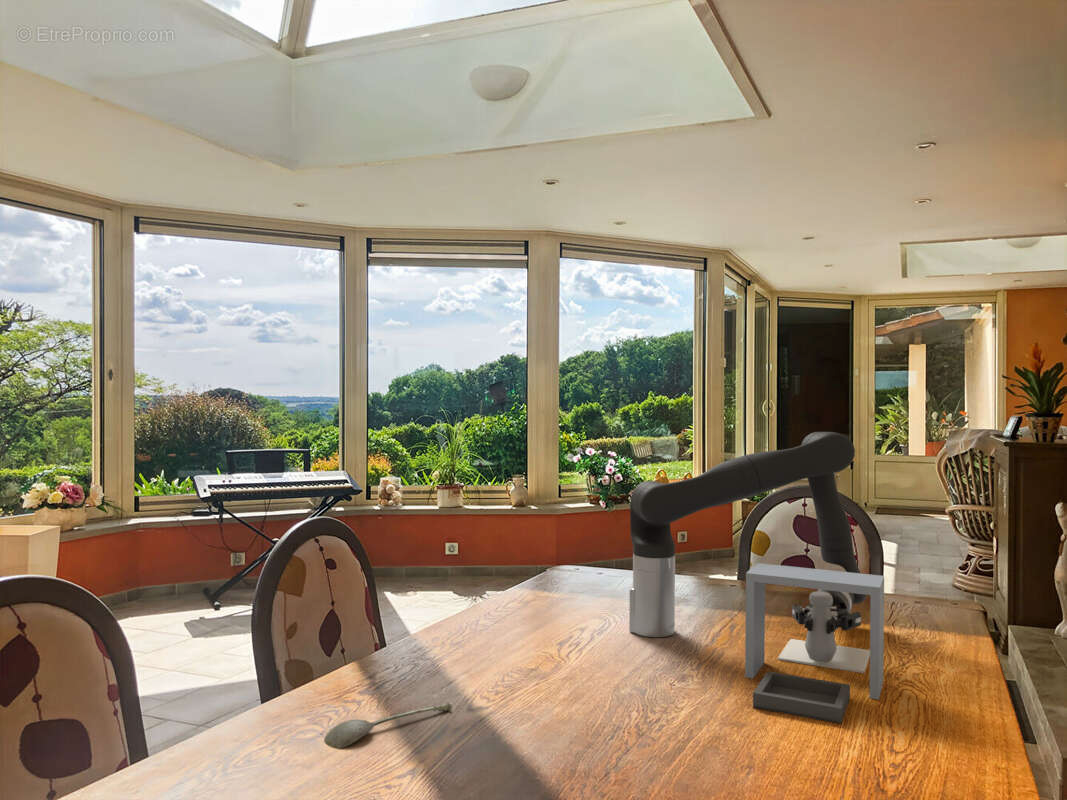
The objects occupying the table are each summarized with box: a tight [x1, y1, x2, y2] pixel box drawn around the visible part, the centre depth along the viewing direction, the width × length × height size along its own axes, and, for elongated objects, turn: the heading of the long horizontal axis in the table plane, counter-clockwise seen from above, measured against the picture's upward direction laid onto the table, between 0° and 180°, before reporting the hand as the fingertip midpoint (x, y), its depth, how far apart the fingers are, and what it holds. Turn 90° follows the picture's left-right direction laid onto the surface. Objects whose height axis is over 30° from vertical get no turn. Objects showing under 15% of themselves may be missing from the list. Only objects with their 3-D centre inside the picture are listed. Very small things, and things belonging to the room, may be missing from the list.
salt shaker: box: [805, 590, 837, 662], centre depth 157 cm, size 6×6×13 cm
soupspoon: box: [323, 702, 453, 750], centre depth 127 cm, size 22×3×7 cm
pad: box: [777, 638, 870, 674], centre depth 162 cm, size 16×14×1 cm
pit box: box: [752, 671, 851, 725], centre depth 138 cm, size 14×12×2 cm
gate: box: [744, 562, 885, 700], centre depth 149 cm, size 23×10×20 cm, turn 62°
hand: (818, 627), depth 154 cm, fingers closed on salt shaker, 3 cm apart
